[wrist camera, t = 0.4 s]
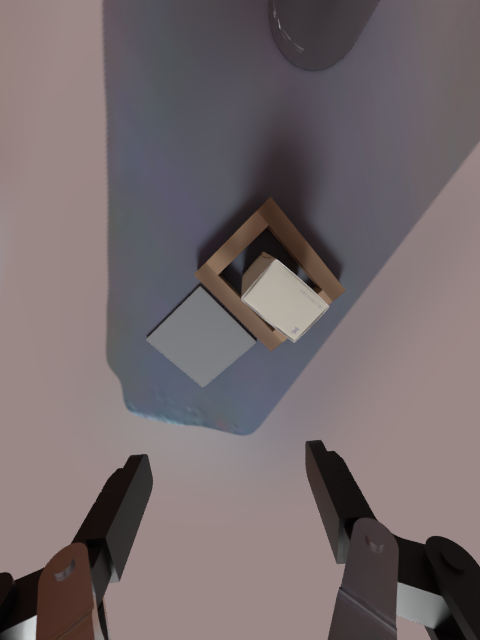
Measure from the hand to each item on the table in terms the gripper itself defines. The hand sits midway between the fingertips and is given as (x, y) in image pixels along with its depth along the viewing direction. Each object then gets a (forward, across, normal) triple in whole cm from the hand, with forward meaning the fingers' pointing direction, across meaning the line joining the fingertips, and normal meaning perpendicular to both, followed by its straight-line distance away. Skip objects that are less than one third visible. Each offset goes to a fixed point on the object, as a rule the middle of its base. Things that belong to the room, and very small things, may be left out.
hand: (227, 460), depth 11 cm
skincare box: (+21, -5, -7) cm, 23 cm away
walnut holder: (+21, -5, -7) cm, 22 cm away
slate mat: (+22, +4, +1) cm, 22 cm away
